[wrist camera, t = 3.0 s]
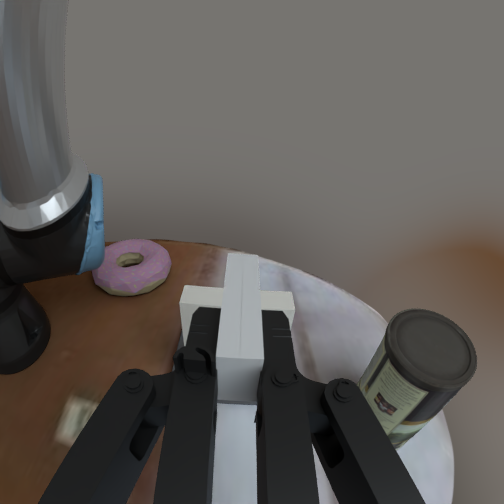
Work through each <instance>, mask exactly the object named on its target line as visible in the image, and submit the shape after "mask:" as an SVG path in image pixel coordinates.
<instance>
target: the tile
mask: <svg viewBox="0 0 504 504" xmlns="http://www.w3.org/2000/svg"><path fill="white" fill-rule="evenodd" d="M223 290H224V288H215V287H201V286H189V285H185V286H184V290H183V293H182V296H181V299H180V303H179V304H180V313H181V323H182V331H183V339H184V346H186V341H187V336H188V333H189V328H190V323H191V319H192V314H193V313H194V312H195V311H196V310H197V309H198V307H211V308H221V306H222V298H223ZM260 295H261V310H277V311H283V312H284V313H285V315H286V316H287V318H288V319H289V325H290V330H291V326H292V322H293V318H294V313H295V306H294V301H293V296H292V292H282V291H262V290H260Z"/></svg>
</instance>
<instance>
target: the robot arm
mask: <svg viewBox="0 0 504 504" xmlns="http://www.w3.org/2000/svg"><path fill="white" fill-rule="evenodd" d="M68 2H69V0H0V374H12V373H16V372H19V371H21V370H23V369H25V368H27V367H28V366H30V365H31V364H32V363H33V362H34V361H36V360H37V358H38V357H39V356H40V355H41V354H42V352H43V351H44V349H45V348H46V346H47V343H48V341H49V337H50V323H49V320H48V318H47V316H46V314H45V311H44V310H43V308H42V307H41V305H40V304H39V303H38V302H37V301H36V300H35V298H34V297H33V296H32V295H31V294H30V292H29V291H28V290H27V289H26V288H25V286H24V285H23V283H28V282H34V281H39V280H44V279H50V278H56V277H62V276H68V275H74V274H75V275H80V274H81V273H82V272H86V271H90V270H95V269H97V268H99V267H100V266H101V265H102V264H103V262H104V259H105V241H104V225H103V222H104V221H103V214H104V213H103V181H102V177H101V176H100V175H97V174H96V175H95V174H88V169H87V166H86V163H85V162H84V160H83V159H82V158H80V157H79V156H78V155H76V154H74V153H71V148H70V140H69V132H68V123H67V112H66V100H65V74H64V72H65V71H64V57H65V32H66V20H67V9H68ZM173 361H174V366H175V370H174V371H172V372H170V373H167V374H163V375H155V376H150V375H149V374H148V373H147V372H145V371H143V370H140V369H129V370H126V371H124V372H122V373H121V374H120V375H119V376H118V377H117V379H116V380H115V381H114V383H113V384H112V386H111V387H110V389H109V390H108V392H107V393H106V395H105V396H104V398H103V399H102V401H101V402H100V404H99V405H98V407H97V408H96V410H95V411H94V413H93V414H92V416H91V417H90V419H89V420H88V422H87V424H86V425H85V427H84V428H83V430H82V431H81V433H80V434H79V436H78V438H77V439H76V441H75V442H74V444H73V445H72V447H71V449H70V450H69V452H68V454H67V455H66V457H65V458H64V460H63V462H62V463H61V465H60V467H59V468H58V470H57V472H56V473H55V475H54V477H53V478H52V480H51V482H50V483H49V485H48V487H47V488H46V490H45V492H44V494H43V495H42V497H41V499H40V501H39V502H38V504H126V502H127V500H128V498H129V496H130V494H131V492H132V490H133V488H134V486H135V484H136V482H137V480H138V478H139V476H140V474H141V472H142V470H143V468H144V466H145V464H146V462H147V460H148V458H149V456H150V454H151V452H152V450H153V448H154V446H155V444H156V442H157V440H158V438H159V436H160V434H161V432H162V430H163V428H164V426H165V431H164V437H163V443H162V448H161V454H160V461H159V467H158V473H157V480H156V487H155V494H154V502H153V504H212V486H213V467H214V450H215V434H216V420H217V400H230V401H254V402H256V400H257V411H256V416H255V421H254V423H256V450H257V504H319V496H318V487H317V479H316V471H315V463H314V455H313V448H312V444H313V446H314V448H315V451H316V453H317V455H318V457H319V460H320V462H321V464H322V467H323V469H324V471H325V473H326V476H327V478H328V480H329V482H330V485H331V487H332V489H333V491H334V494H335V496H336V498H337V500H338V502H339V504H425V502H424V500H423V498H422V496H421V494H420V493H419V491H418V489H417V487H416V485H415V484H414V482H413V480H412V478H411V476H410V475H409V473H408V471H407V469H406V467H405V466H404V464H403V462H402V460H401V459H400V457H399V455H398V453H397V452H396V450H395V448H394V446H393V445H392V443H391V441H390V439H389V438H388V436H387V434H386V432H385V431H384V429H383V427H382V426H381V424H380V422H379V420H378V419H377V417H376V415H375V414H374V412H373V410H372V408H371V407H370V405H369V403H368V402H367V400H366V398H365V397H364V395H363V393H362V392H361V390H360V388H359V387H358V386H357V385H356V384H355V383H354V382H352V381H350V380H348V379H343V378H340V379H334V380H332V381H330V382H329V383H328V384H323V383H319V382H315V381H312V380H309V379H307V378H305V377H304V376H303V375H302V374H301V373H300V372H299V371H298V369H297V367H296V363H295V356H294V350H293V343H292V338H291V331H290V325H289V319H288V318H287V316H286V315H285V313H284V312H283V311H277V310H261V295H260V277H259V260H258V255H247V254H232V253H228V258H227V266H226V274H225V282H224V290H223V298H222V306H221V308H211V307H198V309H197V310H196V311H195V312H194V313H193V314H192V319H191V323H190V328H189V333H188V336H187V341H186V346H184V347H181V348H180V349H179V350H177V351H176V352H175V354H174V356H173Z"/></svg>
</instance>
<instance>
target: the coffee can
mask: <svg viewBox="0 0 504 504" xmlns="http://www.w3.org/2000/svg"><path fill="white" fill-rule="evenodd" d="M476 367H477V356H476V351H475V348H474V346H473V344H472V342H471V340H470V339H469V337H468V336H467V335H466V333H465V332H464V331H463V330H462V329H461V328H460V327H459V326H458V325H457V324H455V323H454V322H453V321H451V320H450V319H448V318H446V317H444V316H443V315H440V314H438V313H436V312H432V311H429V310H424V309H407V310H404V311H401V312H399V313H397V314H396V315H395V316H394V317H393V318H392V319H391V320H390V322H389V324H388V326H387V329H386V332H385V335H384V337H383V339H382V341H381V343H380V345H379V347H378V349H377V351H376V353H375V355H374V356H373V358H372V360H371V362H370V364H369V365H368V367H367V369H366V371H365V372H364V374H363V376H362V377H361V379H360V381H359V382H358V384H357V386H358V387H359V388H360V390H361V392H362V393H363V395H364V397H365V398H366V400H367V402H368V403H369V405H370V407H371V408H372V410H373V412H374V414H375V415H376V417H377V419H378V420H379V422H380V424H381V426H382V427H383V429H384V431H385V432H386V434H387V436H388V438H389V439H390V441H391V443H392V445H393V446H394V448H395V450H398V449H399V448H401V447H402V446H403V445H404V444H405V443H406V442H407V441H408V440H409V439H410V438H412V437H413V436H414V435H415V434H416V433H417V432H418V431H419V430H421V429H422V428H423V427H424V426H425V425H426V424H427V423H428V422H429V421H430V420H431V419H432V418H433V417H434V416H435V415H436V414H437V413H438V412H439V411H440V410H441V409H442V408H443V407H444V406H445V405H446V404H447V403H448V402H449V401H450V400H451V399H452V398H453V397H454V396H455V395H456V393H457V392H458V391H459V390H460V389H461V388H462V387H463V386H464V385H465V384H466V383H467V382H468V381H469V380H470V379H471V378H472V377H473V375H474V373H475V371H476Z"/></svg>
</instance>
